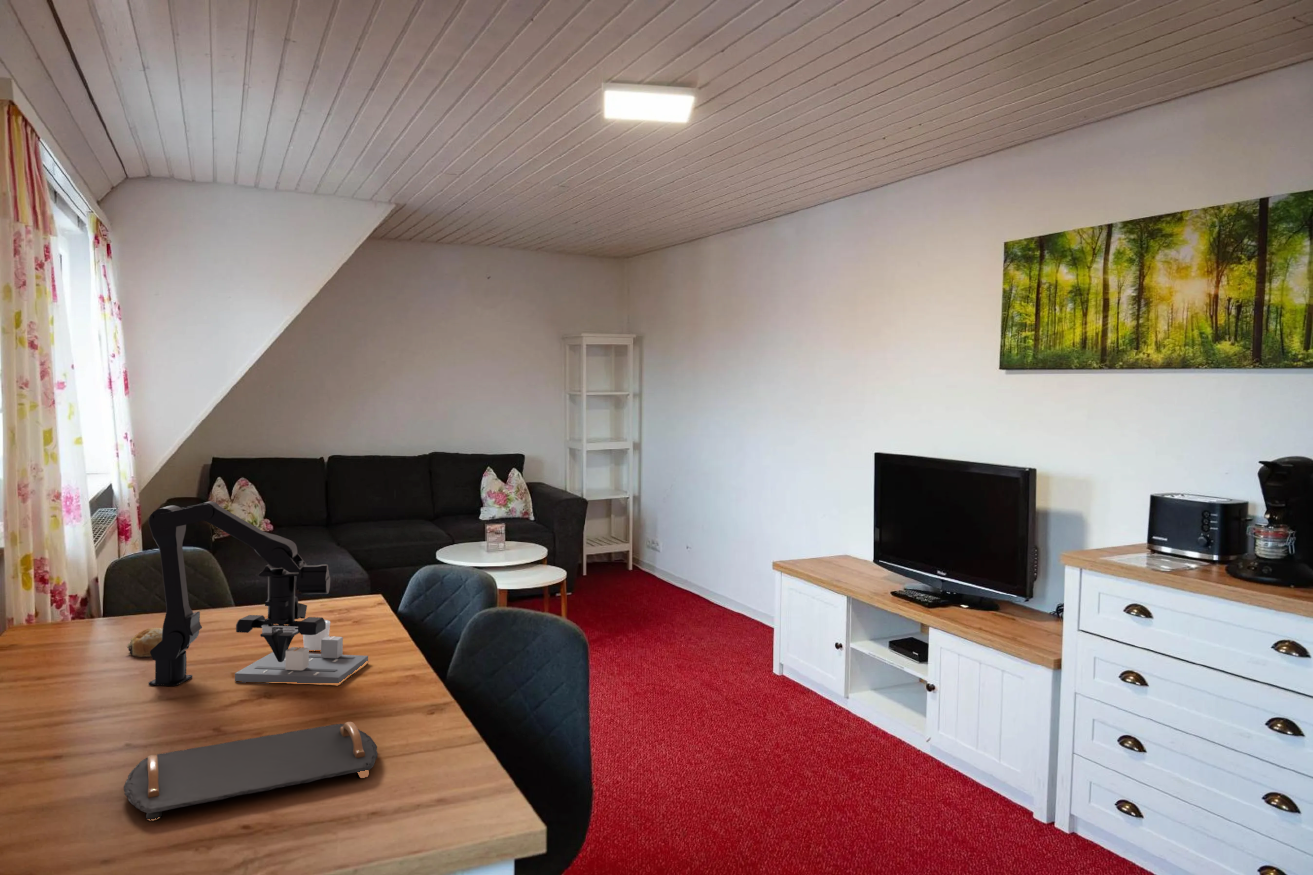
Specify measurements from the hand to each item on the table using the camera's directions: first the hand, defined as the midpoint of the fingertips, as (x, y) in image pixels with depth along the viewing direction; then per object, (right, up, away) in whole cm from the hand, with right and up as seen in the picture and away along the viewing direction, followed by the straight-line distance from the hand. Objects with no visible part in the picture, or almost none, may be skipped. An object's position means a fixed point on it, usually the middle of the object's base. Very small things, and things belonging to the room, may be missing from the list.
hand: (280, 661), depth 194 cm
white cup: (-1, -3, +23) cm, 23 cm away
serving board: (+19, -6, -51) cm, 55 cm away
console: (+4, -4, +4) cm, 6 cm away
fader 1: (+4, -1, 0) cm, 4 cm away
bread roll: (-40, -3, +17) cm, 44 cm away
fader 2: (+8, -1, +10) cm, 13 cm away
